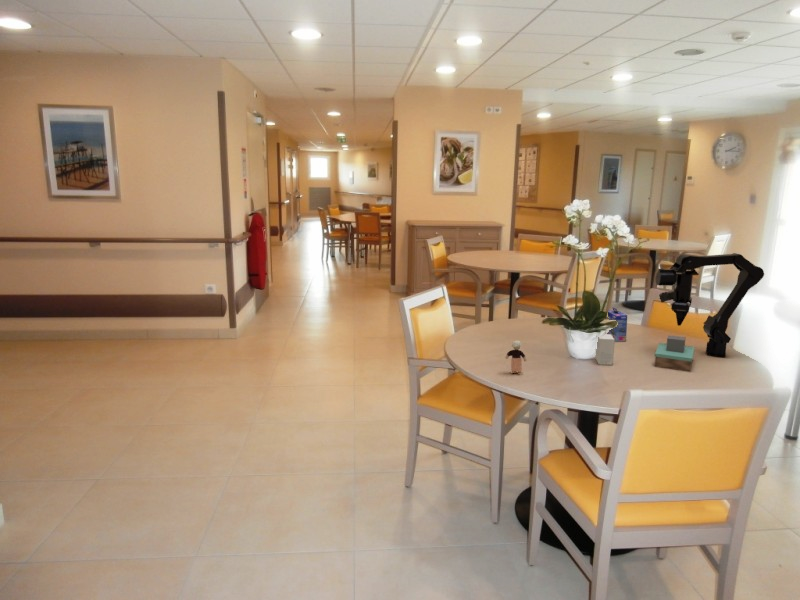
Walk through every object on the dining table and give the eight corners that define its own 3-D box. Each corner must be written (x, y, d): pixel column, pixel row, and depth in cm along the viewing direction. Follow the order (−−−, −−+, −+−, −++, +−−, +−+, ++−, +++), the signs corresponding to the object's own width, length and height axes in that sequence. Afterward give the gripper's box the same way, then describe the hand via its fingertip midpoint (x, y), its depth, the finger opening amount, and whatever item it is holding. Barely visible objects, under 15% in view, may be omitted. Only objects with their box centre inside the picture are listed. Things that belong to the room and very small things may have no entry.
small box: (613, 365, 206) (615, 339, 204) (598, 364, 207) (599, 338, 205) (609, 359, 214) (611, 333, 211) (594, 358, 215) (596, 333, 213)
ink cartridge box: (604, 335, 247) (606, 305, 244) (615, 335, 247) (618, 305, 244) (614, 341, 237) (617, 310, 234) (626, 341, 238) (629, 310, 235)
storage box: (692, 359, 212) (693, 350, 211) (689, 371, 198) (691, 361, 198) (659, 355, 218) (660, 345, 217) (654, 366, 204) (655, 356, 204)
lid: (694, 350, 211) (694, 347, 210) (691, 361, 197) (692, 358, 197) (659, 345, 217) (659, 342, 217) (654, 356, 203) (655, 353, 203)
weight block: (684, 349, 208) (685, 337, 207) (683, 352, 203) (684, 340, 202) (667, 347, 211) (668, 335, 210) (666, 350, 206) (667, 338, 205)
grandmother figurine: (525, 371, 200) (526, 339, 197) (526, 375, 196) (527, 342, 193) (504, 370, 201) (505, 338, 198) (505, 374, 197) (506, 341, 195)
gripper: (664, 280, 226) (660, 316, 229) (659, 287, 210) (655, 325, 213) (693, 282, 220) (689, 319, 223) (690, 290, 204) (686, 329, 208)
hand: (679, 323), depth 217 cm, fingers open, 9 cm apart
